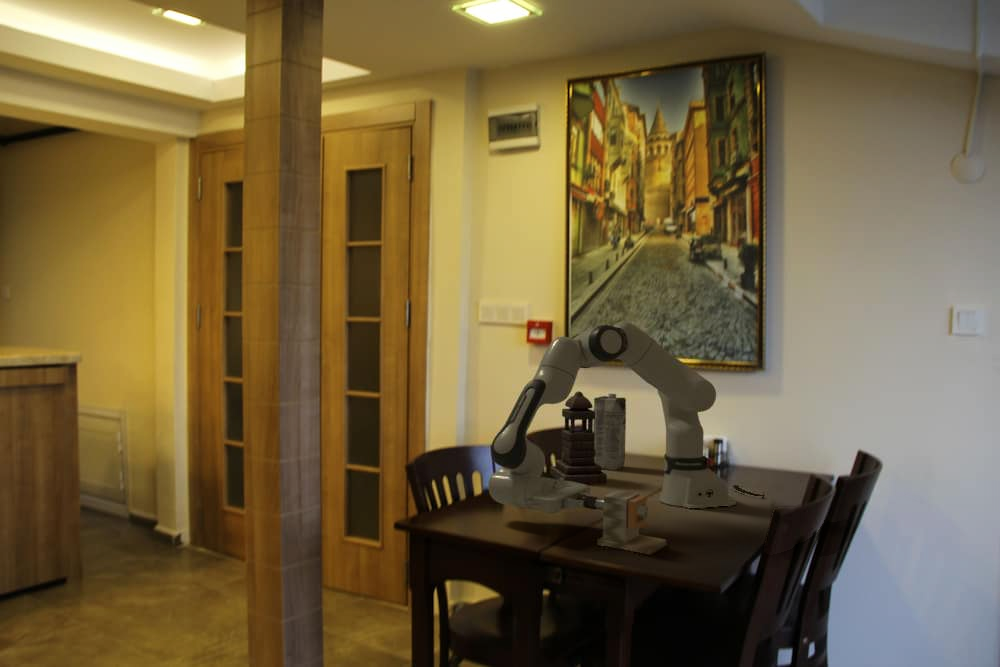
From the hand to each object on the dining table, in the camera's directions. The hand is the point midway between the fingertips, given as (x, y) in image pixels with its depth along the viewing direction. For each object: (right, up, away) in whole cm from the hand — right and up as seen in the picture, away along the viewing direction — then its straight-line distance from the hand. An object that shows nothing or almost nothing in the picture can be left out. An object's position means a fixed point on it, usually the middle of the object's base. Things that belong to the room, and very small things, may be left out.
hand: (589, 502), depth 209 cm
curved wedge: (+57, -8, +52) cm, 77 cm away
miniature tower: (+4, -7, +68) cm, 68 cm away
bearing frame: (+10, -9, -6) cm, 15 cm away
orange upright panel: (+11, -5, -7) cm, 14 cm away
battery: (+17, -6, +87) cm, 89 cm away
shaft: (+5, -2, -3) cm, 7 cm away
